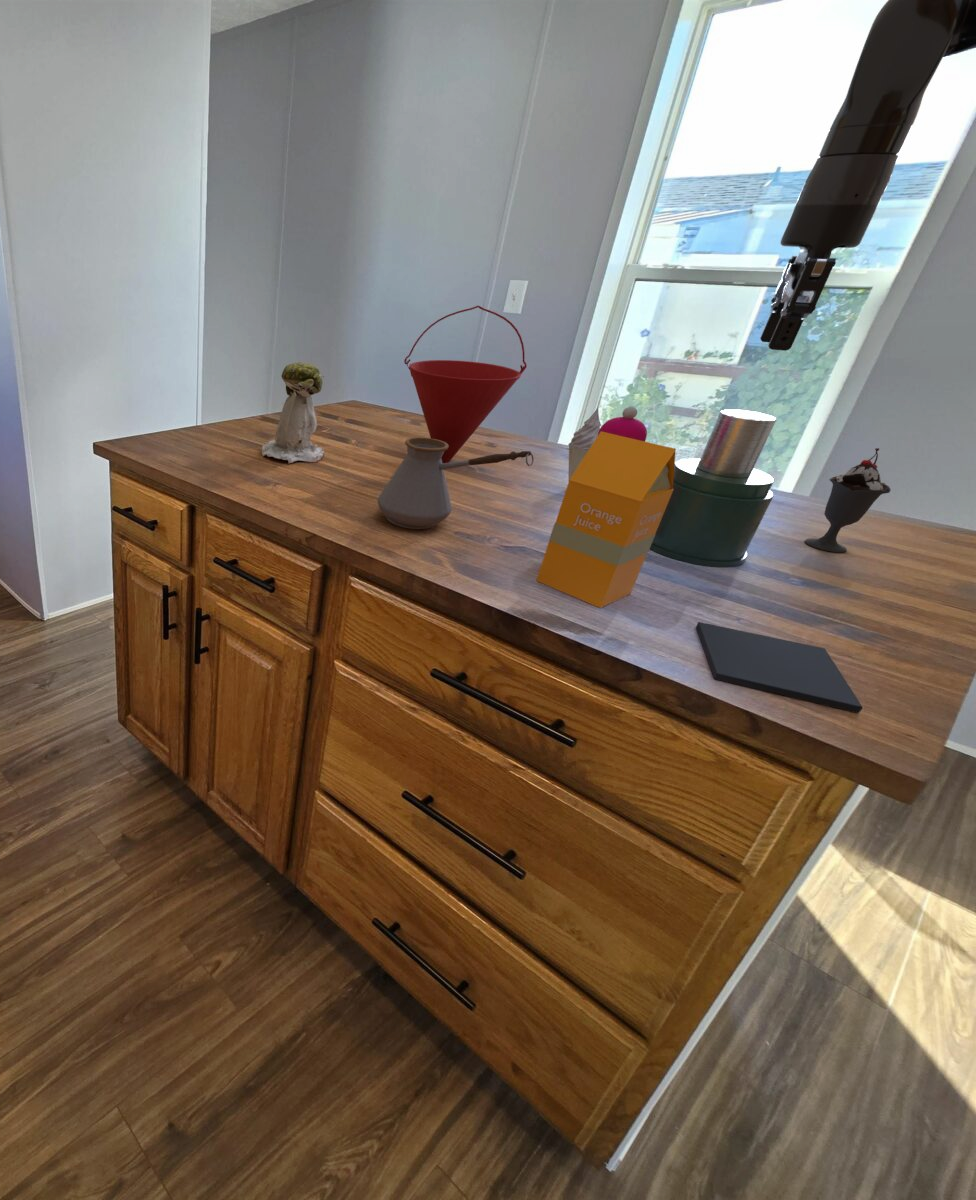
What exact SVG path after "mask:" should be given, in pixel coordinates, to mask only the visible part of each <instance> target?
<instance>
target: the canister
mask: <svg viewBox="0 0 976 1200" xmlns="http://www.w3.org/2000/svg"><path fill="white" fill-rule="evenodd" d="M700 459H701V458H684V459H679V460H677V461H676V460H675V465H674V479H673V489H674V490H673V492H672V495H671V497H670V500H669V502H668V504H667V507H666V509H665V512H664V514H663V516H662V519H661V521H660V524H659V526H658V528H657V531H656V533H655V534H656V535H655V537H654V539H653V542H652V544H651V547H650V549H649V550H651V551H653V552H654V553H657V554H659V555H662V556H665V557H668V558H670V559H673V560H677V561H681V562H684V563H689V564H694V565H700V566H706V567H716V568H730V567H738V566H740V565H742V564H744V563H745V562H746V560H747V558H748V556H749V555H748V554H749V553H748V552H747V551H748V549H749V547H750V545H751V542H752V541H753V538H754V537H755V535H756V532H757V531H758V529H759V527H760V524H761V522H762V520H763V518H764V516H765V515H766V513H767V510H768V508H769V507H770V505H771V503H772V500H773V499H774V492H773V491H772V490H771V488H772V486H773V484H774V483H775V478H774V477H773V476H772V475H770V474H768V473H767V472H764V471H762V470H759V469H757V468H754V469H753V471H752V473H751V475H750V476H749V477H746V478H731V477H724V476H718V475H714V474H710V473H707V472H704V471H702V470H700V469H699V468H698V467H697V466H698V463H699V461H700Z"/></svg>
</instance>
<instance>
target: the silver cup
mask: <svg viewBox="0 0 976 1200" xmlns="http://www.w3.org/2000/svg"><path fill="white" fill-rule="evenodd" d="M776 422H777V418H776V417H775V416H773V415H770V414H766V413H762V412H758V411H751V410H744V409H743V410H742V409H724V410H720V412H719V414H718V416H717V418H716V421H715V423H714V425H713V428H712V431H711V433H710V435H709V437H708V440H707V443H706V445H705V447H704V450H703V451H702V453H701V456H700V458H699V459H700V461H699V463H698V466H697V467H698V468H699V469H700V470H702V471H704V472H707V473H710V474H714V475H718V476H724V477H731V478H746V477H749V476H750V475H751V473H752V471H753V469H755V467H756V464H757V462H758V460H759V458H760V456H761V454H762V451H763V449H764V447H765V445H766V444H767V440H769V439H768V438H769V436H770V434H771V432H772V430H773V428H774V427H775V424H776Z"/></svg>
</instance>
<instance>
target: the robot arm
mask: <svg viewBox="0 0 976 1200" xmlns="http://www.w3.org/2000/svg"><path fill="white" fill-rule="evenodd" d="M973 49H976V0H887V1H886V2H885V3H884V5H882V7H881V8H880V10H879V11H878V13H877V14H876V16H875V18H874V20H873V22H872V24H871V26H870V29H869V32H868V33H867V37H866V39H865V42H864V45H863V47H862V49H861V52H860V55H859V58H858V61H857V64H856V66H855V69H854V72H853V75H852V78H851V80H850V83H849V87H848V90H847V93H846V96H845V98H844V101H843V102H842V104H841V106H840V108H839V110H838V112H837V114H836V116H835V118H834V120H833V122H832V124H831V126H830V128H829V130H828V133H827V135H826V137H825V139H824V143H823V145H822V147H821V149H820V152H819V154H818V158H817V159H816V161H815V163H814V164H813V167H812V169H810V172H809V174H808V176H807V177H806V179H805V181H804V183H803V186H802V188H801V191H800V194H799V196H798V198H797V200H796V203H795V206H794V208H793V210H792V213H791V215H790V217H789V219H788V222H787V224H786V227H785V228H784V232H783V234H782V237H781V239H780V243H779V244H780V246H782V247H790V248H791V247H793V248H794V247H795V248H799V249H800V250H799V252H798V254H797V255H791V257H790V258H789V259H788V262H787V264H786V266H785V268H784V270H783V273H782V276H781V280H780V281H779V283H778V285H777V287H776V289H775V294H774V296H773V297H772V298H771V305H770V311H771V312H770V314H769V317H768V319H767V322H766V323H765V325H764V329H763V331H762V333H761V334H760V339H759V340H760V341H761V342H762V343H768V348H769V349H770V350H773V351H789V350H791V348H792V346H793V344H794V343H795V340H796V338H797V336H798V334H799V331H800V329H801V327H802V325H803V322H804V320H805V319H807V318H808V316H810V315H812V314H813V312H815V310H816V308H817V304H818V301H819V299H820V297H821V295H822V293H823V290H824V288H825V286H826V284H827V282H828V279H829V278H830V277H829V276H830V275H831V272H832V270H833V268H834V267H835V266H836V264H837V262H836V261H837V257H834V258H833V257H831V256H832V252H833V251H834V250H835V249H853V248H856V247H858V246H859V245H860V244H861V243H862V240H863V239H864V236H865V235H866V232H867V230H868V228H869V226H870V223H871V221H872V219H873V217H874V215H875V213H876V211H877V209H878V207H879V204H880V202H881V200H882V198H883V196H884V193H885V192H886V190H887V188H888V186H889V183H890V181H891V178H892V175H893V173H894V169H895V166H896V162H897V160H898V158H899V154H900V153H901V151H902V149H903V148H904V145H905V143H906V141H907V139H908V136H909V134H910V132H911V130H912V128H913V125H914V123H915V120H916V119H917V116H918V114H919V111H920V107H921V105H922V102H923V97H924V94H925V92H926V91H927V88H928V86H929V85H930V82H931V81H932V79H933V77H934V75H935V73H936V72H937V70H938V67H939V65H940V64H941V62H942V60H943V59H944V58H947V57H951V56H954V55H957V54H960V53H964V52H967V51H972V50H973Z"/></svg>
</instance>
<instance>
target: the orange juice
mask: <svg viewBox="0 0 976 1200" xmlns="http://www.w3.org/2000/svg"><path fill="white" fill-rule="evenodd" d="M676 450H677V448H674V447H670V446H665V445H661V444H657V443H653V442H649V441H645V442H644V441H640V440H636V439H631V438H627V437H623V436H619V435H614V434H610V433H606V432H600V434H599V435H598V437H597V438H596V440H595V441H594V443H593V444H592V446H591V447H590V449H589V450H588V452H587V453H586V455H585V457H584V458H583V460H582V461H581V463H580V464H579V466H578V467H577V469H576V470H575V472H574V473H573V475H572V476H571V478H570V480H569V479H568V482H569V483H567V485H566V486H567V487H566V489H565V492H564V496H563V499H562V501H561V504H560V508H559V511H558V514H557V517H556V519H555V522H554V524H553V527H552V530H551V533H550V536H549V539H548V544H547V547H546V549H545V553H544V557H543V560H542V563H541V566H540V568H539V572H538V575H537V577H536V582H537V583H541V584H544V585H546V586H548V587H550V588H552V589H554V590H557V591H559V592H562V593H564V594H567V595H569V596H571V597H574V598H576V599H578V600H580V601H583V602H586V603H588V604H590V605H592V606H595V607H596V608H599V609H602V608H604V607H605V606H608V605H610V604H612V603H614V602H617V601H618V600H620V599H623V598H624V597H627V596H629V595H631V593H632V592H633V589H634V586H635V584H636V581H637V579H638V577H639V574H640V572H641V570H642V567H643V565H644V562H645V560H646V557H647V555H648V553H649V551H650V550H651V549H650V547H651V544H652V542H653V539H654V537H655V535H656V534H655V533H656V531H657V528H658V526H659V524H660V521H661V519H662V516H663V514H664V512H665V509H666V507H667V504H668V502H669V500H670V497H671V495H672V492H673V490H674V489H673V479H674V465H675V462H676Z"/></svg>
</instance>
